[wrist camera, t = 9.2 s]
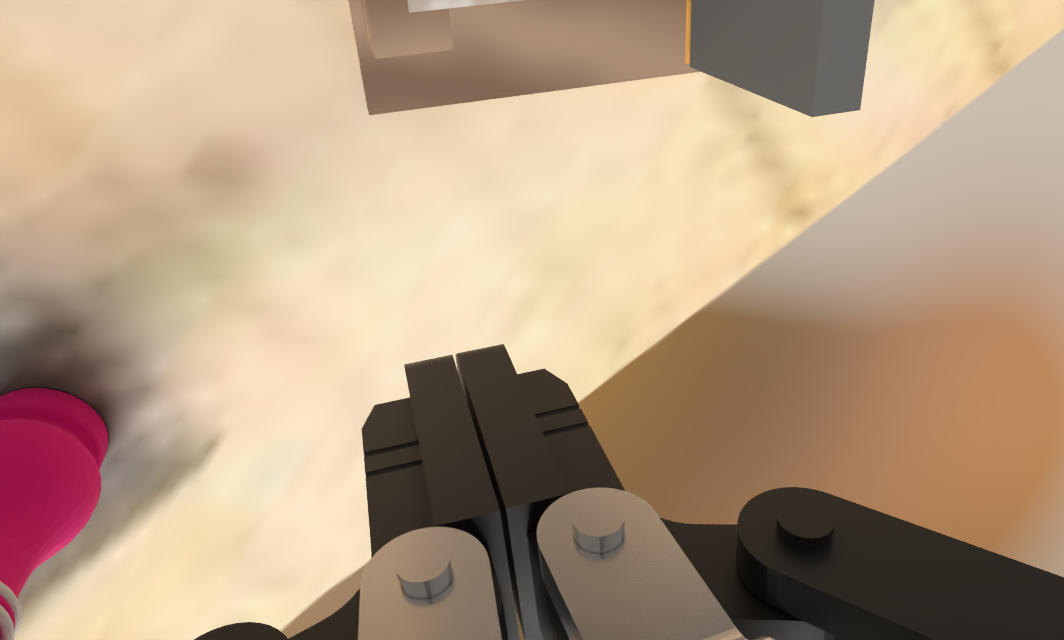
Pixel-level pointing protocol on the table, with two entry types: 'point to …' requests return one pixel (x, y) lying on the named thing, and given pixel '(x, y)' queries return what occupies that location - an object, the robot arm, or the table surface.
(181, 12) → the table surface
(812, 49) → the collar
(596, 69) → the rod stand
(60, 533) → the pepper mill
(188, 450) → the table surface
